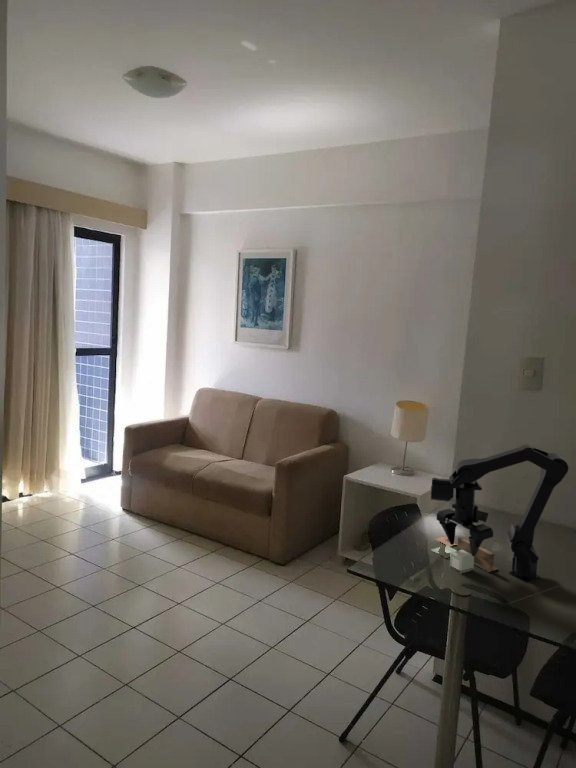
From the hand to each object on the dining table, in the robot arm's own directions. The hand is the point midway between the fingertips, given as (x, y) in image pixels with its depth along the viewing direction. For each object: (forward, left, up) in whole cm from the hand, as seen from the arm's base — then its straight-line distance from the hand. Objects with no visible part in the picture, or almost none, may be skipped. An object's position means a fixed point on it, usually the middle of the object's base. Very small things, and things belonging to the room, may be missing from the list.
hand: (462, 549), depth 179 cm
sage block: (0, 0, -6) cm, 6 cm away
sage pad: (+11, -4, -6) cm, 13 cm away
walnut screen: (+1, -6, -6) cm, 9 cm away
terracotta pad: (+17, -11, -6) cm, 21 cm away
